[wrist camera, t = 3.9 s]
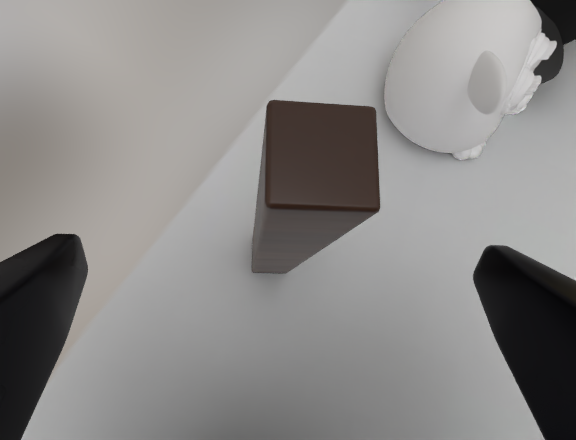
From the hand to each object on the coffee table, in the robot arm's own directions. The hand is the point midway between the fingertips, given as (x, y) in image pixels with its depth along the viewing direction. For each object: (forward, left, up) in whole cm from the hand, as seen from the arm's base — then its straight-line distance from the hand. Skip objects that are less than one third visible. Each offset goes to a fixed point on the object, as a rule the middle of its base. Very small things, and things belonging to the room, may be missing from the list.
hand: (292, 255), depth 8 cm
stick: (+1, 0, -8) cm, 9 cm away
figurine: (+12, -3, -9) cm, 15 cm away
